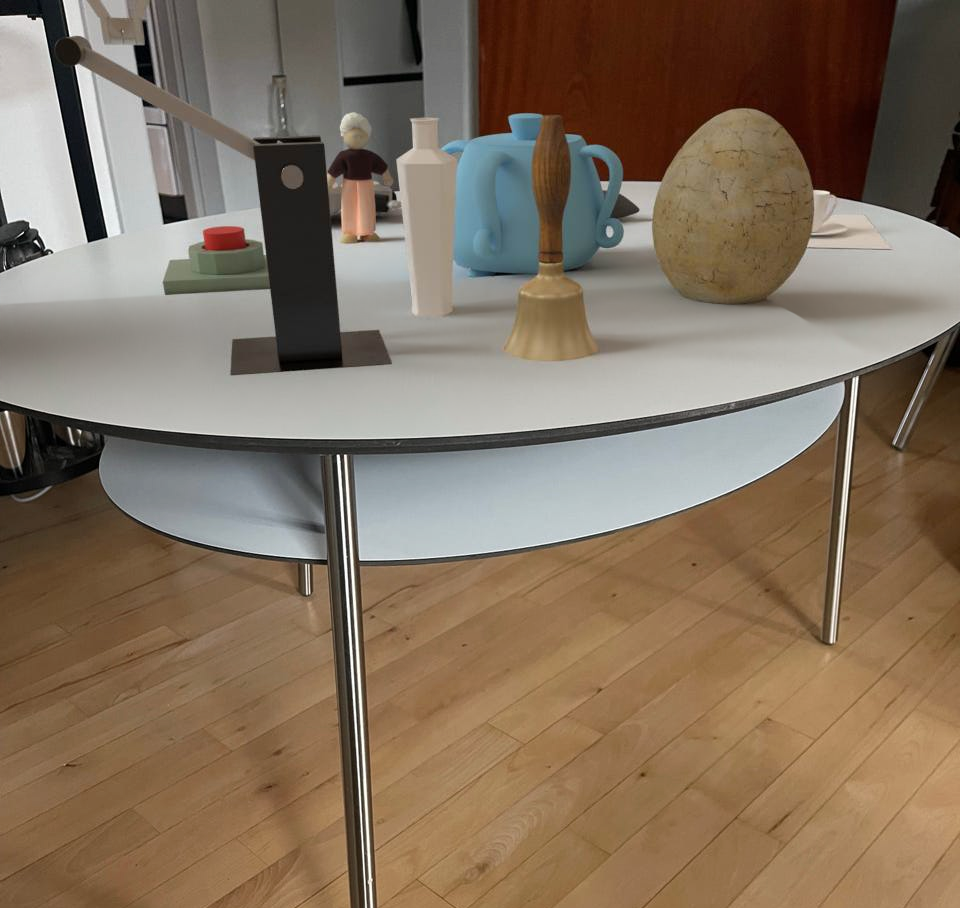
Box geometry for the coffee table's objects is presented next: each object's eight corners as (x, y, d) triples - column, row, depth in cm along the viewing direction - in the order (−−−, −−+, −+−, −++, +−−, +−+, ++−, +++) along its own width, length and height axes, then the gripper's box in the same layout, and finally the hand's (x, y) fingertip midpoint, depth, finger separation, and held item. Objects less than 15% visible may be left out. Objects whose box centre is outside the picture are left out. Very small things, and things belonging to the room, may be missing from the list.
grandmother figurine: (340, 247, 110) (329, 115, 104) (324, 241, 113) (313, 113, 106) (402, 238, 114) (396, 111, 107) (385, 233, 117) (378, 108, 110)
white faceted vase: (417, 316, 85) (407, 115, 77) (465, 321, 84) (461, 116, 76) (393, 331, 82) (380, 121, 74) (443, 335, 80) (436, 122, 72)
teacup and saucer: (767, 238, 111) (772, 197, 109) (763, 224, 118) (768, 186, 115) (851, 239, 110) (858, 198, 107) (842, 226, 116) (848, 187, 114)
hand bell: (483, 378, 71) (480, 122, 63) (502, 344, 78) (502, 109, 69) (603, 383, 70) (616, 122, 61) (611, 348, 77) (624, 109, 68)
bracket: (232, 392, 69) (197, 151, 61) (234, 354, 77) (203, 135, 69) (394, 381, 71) (380, 145, 63) (380, 345, 78) (366, 130, 70)
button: (204, 255, 90) (201, 234, 89) (206, 247, 93) (203, 227, 92) (246, 253, 91) (243, 232, 90) (246, 245, 94) (244, 225, 93)
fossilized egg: (666, 284, 94) (680, 100, 86) (809, 295, 89) (838, 102, 81) (629, 319, 84) (641, 114, 76) (788, 333, 79) (819, 117, 72)
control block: (166, 307, 89) (158, 259, 87) (173, 284, 97) (166, 239, 95) (294, 299, 91) (289, 252, 89) (291, 277, 98) (286, 233, 96)
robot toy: (388, 214, 132) (269, 211, 128) (388, 176, 129) (268, 172, 126) (404, 231, 122) (276, 229, 118) (405, 190, 119) (275, 186, 116)
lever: (48, 65, 59) (61, 23, 58) (61, 62, 64) (74, 22, 63) (304, 205, 66) (320, 169, 65) (301, 193, 70) (316, 159, 69)
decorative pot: (632, 284, 94) (644, 119, 87) (462, 295, 91) (459, 125, 84) (578, 249, 108) (584, 104, 101) (428, 258, 105) (423, 109, 98)
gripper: (243, -170, 76) (261, 45, 83) (-51, -184, 73) (-6, 42, 80) (243, -184, 71) (262, 47, 78) (-75, -199, 67) (-23, 44, 75)
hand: (124, 44), depth 79 cm, fingers closed
